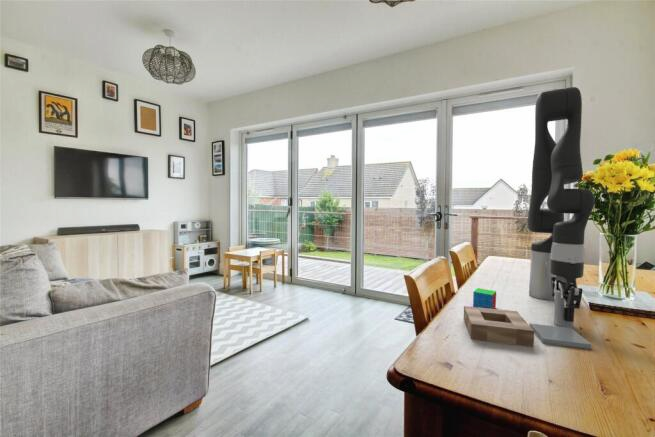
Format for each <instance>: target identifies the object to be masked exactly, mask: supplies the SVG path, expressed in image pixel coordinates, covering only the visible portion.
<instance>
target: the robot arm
mask: <svg viewBox="0 0 655 437" xmlns="http://www.w3.org/2000/svg"><path fill="white" fill-rule="evenodd" d="M582 100H583V98H582V94H581V90H580V89H579V88H578V87H576V86H571V87H565V88H563V87H562V88H559V89H552V90H546V91H542V92H540V93H539V94H538V95H537V96H536V100H535V109H534V111H535V112H534V113H535V114H534V115H535V116H534V118H535V119H534V125H535V126H534V129H535V132H534V149H533V159H532V168H531V169H532V170H531V191H530V192H531V193H530V203H529V209H528V216H527V228H528V231H529V232H531V233H539V234H540V233H541V234H550V236H549V237H547V238H545V239H542V240H539V241H534V242H532V243H531V244H530V263H529V264H530V266H529V267H530V269H529V285H528V286H529V289H528V295H529V296H531V297H533V298H537V299H542V300H547V301H555V289H559V291H560V293H561V298H562V299H563V301H564V314H563V319H564V320H565V321H569V322H573V321H574V322H575V310H576V309H580V308H581V302H582V296H583V292H584V290H583V288H582V287H578V285H577V279H582V278H583V277H584V269H585V268H584V267H585V231H586V227H587V224H588V221H589V219H590V216H591V214H592V212H593V209H594V207H595V203H596V197H595V195H594V193H593V192H592V190H590V189H588V188H565V185H569V184H570V185H571V184H573V183H577V182H579V181H580V180H582V179H583V176H584V172H583V162H582V154H581V153H582V152H581V134H582V114H583V112H582V111H583V101H582ZM564 120H567V125H566V129H565V130H564V132H563V134H562V136H561V137H560V139H558V142H557V143H556V141H555V139H554V138H553V136H552V134H551V133H550V130H549V127H548V125H549V124H548V123H549V122H556V121H564ZM545 199H547V200H546V205H547V208H543V207H542V205H543V203H544V201H545ZM565 214H568V215H569V214H573V215H572V216H571V218H570V219H569V220H566V221H565ZM565 294H566V295H569V296H565ZM567 299H568V302H567ZM574 309H575V310H574Z"/></svg>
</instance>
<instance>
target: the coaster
mask: <svg viewBox="0 0 655 437" xmlns="http://www.w3.org/2000/svg"><path fill="white" fill-rule="evenodd" d="M529 325H530V327H531V328H532V329H533V330H534V336H536V337H537V338H538V339H539V341H541V343H542V344H545V345H553V346H562V347H570V348H571V347H572V348H578V349H586V350H592V343H591V342H590V341H588V340H587V339H586V338H584V337H583V336H582V335H581V334H579V333H578V332H577V331H576V330H575V329H574V328H566V327H559V326H556V325H546V324H536V323H529Z"/></svg>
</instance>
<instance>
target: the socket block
mask: <svg viewBox="0 0 655 437" xmlns="http://www.w3.org/2000/svg"><path fill="white" fill-rule="evenodd" d="M463 321H464V324H465V327H466V329H467V332H468V334H469V338H470V340H478V341H483V342H491V343H498V344H499V343H501V344H509V345H514V344H515V346H524V347H531V348H534V346H535V345H534V344H535V333H534V330H533V329H532V328H531V327H530V323H528V322H527V321H526V320H525V319H524V317H522V315H521V314H520V313H519V312H518V311H517V310H507V309H496V308H495V309H488V308H478V307H473V306H468V305H467V306H466V305H464V306H463Z"/></svg>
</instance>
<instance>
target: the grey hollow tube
mask: <svg viewBox="0 0 655 437" xmlns="http://www.w3.org/2000/svg"><path fill="white" fill-rule="evenodd" d="M565 296H569V295H566V294H565ZM567 302H568V299H567ZM553 310H554V311H553V312H554V313H553V324H554V326H557V327H566V328H572V329H574V325H575V320H574V321H573V322H569V321H565V320H564V319H563V314H564V301H563V299H562V298H561V293H560V291H559V289H555V300H554V309H553ZM575 310H576V309H574V311H575Z"/></svg>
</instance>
